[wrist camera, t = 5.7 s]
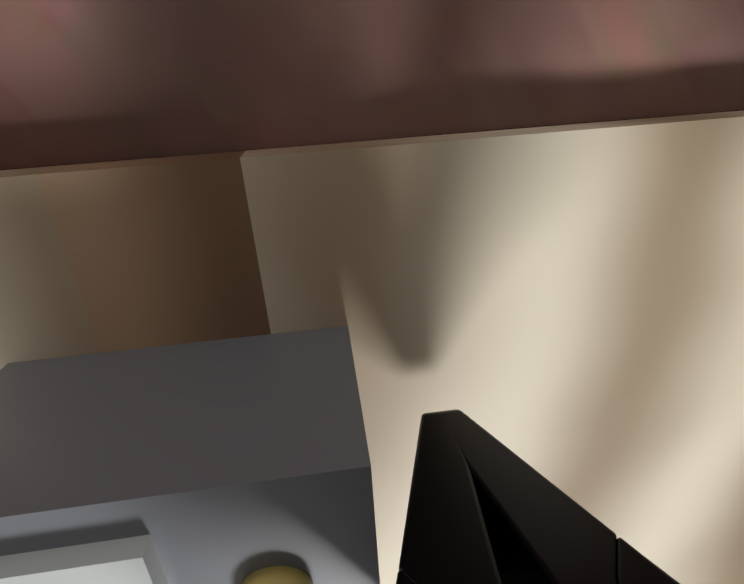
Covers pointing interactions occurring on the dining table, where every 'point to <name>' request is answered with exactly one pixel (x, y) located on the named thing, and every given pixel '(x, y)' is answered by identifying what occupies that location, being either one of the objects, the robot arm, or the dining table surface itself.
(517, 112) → the dining table surface
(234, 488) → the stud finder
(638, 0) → the dining table surface
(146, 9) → the dining table surface
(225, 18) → the dining table surface
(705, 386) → the plywood panel
